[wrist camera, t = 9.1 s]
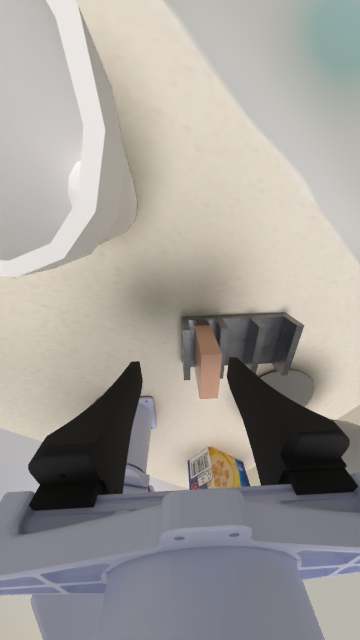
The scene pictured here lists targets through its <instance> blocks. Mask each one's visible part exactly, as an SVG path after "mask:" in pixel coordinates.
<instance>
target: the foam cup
mask: <svg viewBox="0 0 360 640" xmlns="http://www.w3.org/2000/svg"><path fill="white" fill-rule="evenodd" d="M137 205H138V204H137V198H136V193H135V188H134V183H133V180H132V176H131V173H130V169H129V166H128V162H127V159H126V155H125V152H124V148H123V144H122V139H121V133H120V128H119V123H118V118H117V113H116V107H115V102H114V97H113V92H112V87H111V84H110V82H109V79H108V77H107V74H106V72H105V69H104V67H103V64H102V62H101V60H100V57H99V55H98V52H97V50H96V47H95V45H94V42H93V40H92V38H91V35H90V33H89V30H88V28H87V25H86V23H85V21H84V18H83V16H82V13H81V11H80V8H79V6H78V4H77V2H76V0H0V276H10V277H20V276H24V275H28V274H32V273H36V272H40V271H45V270H49V269H53V268H56V267H59V266H61V265H64V264H66V263H69V262H71V261H74V260H76V259H79V258H81V257H84V256H86V255H89V254H91V253H92V252H93V251H94V249H95V248H96V247H97V245H99V244H101V243H103V242H106V241H108V240H110V239H112V238H114V237H116V236H118V235H120V234H122V233H124V232H126V231H127V229H128V228H129V227H130V225H131V224H132V223H133V222H134V220H135V215H136V210H137Z"/></svg>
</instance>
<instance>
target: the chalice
mask: <svg viewBox="0 0 360 640" xmlns="http://www.w3.org/2000/svg"><path fill="white" fill-rule="evenodd" d="M260 378H261V379H262V380H263V381H264V382H266V383H267V384H268V385H270V386H271V387H272V388H274V389H275V390H277V391H278V392H280V393H281V394H283V395H284V396H286V397H288V398H289V399H291V400H293V401H294V402H296V403H298V404H300V405H301V406H303V407H304V406H305V405H306V404H307V403H308V402H309V400H310V399H311V397H312V394H313V390H314V385H313V381H312V380H311V379H310V377H309V376H307V375H306V374H305V373H302V372H300V371H295V370H289V372H288V375H286V376H281V374H280V373H279V372H278V371H275V372H271V373H269V374H266V375H264V376H262V377H260ZM330 420H332V419H330ZM332 421H334V422H335V423H336V424H337V425H338V426H339V427H340V428H341V430H342V431H343V432H344V433H345V434H346V435H347V436H348V438H349V439H350V445H349V447H348V449H347V450H346V452H345V453H344V454H343V456H342V457H341V458H342V459H343V461H344V462H345V463H346V465H347V467H346V468H345V469H346V470H347V472H348V473H349V474H350V475H351V474H353V473H357V472H360V426H358V425H355V424H353V423H350V422H346V421H339V420H332Z"/></svg>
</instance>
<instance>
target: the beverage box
mask: <svg viewBox="0 0 360 640" xmlns="http://www.w3.org/2000/svg"><path fill="white" fill-rule="evenodd" d="M188 470H189V486H190V490H196V489H213V488H231V487H248V486H250V484H249V480H248V477H247V474H246V471H245V467H244V464H243V462H241V461H239V460H237V459H235V458H232V457H230V456H228V455H226V454H224V453H222V452H220V451H218V450H216V449H214V448H211V447H208V448H206V449H205V450H203V451H202V452H200V453H199V454H197V455H196V456H194V457H193V458H191V459H190V460H188Z"/></svg>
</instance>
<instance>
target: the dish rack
mask: <svg viewBox="0 0 360 640" xmlns="http://www.w3.org/2000/svg"><path fill="white" fill-rule="evenodd" d="M198 325H210V326H211V329H212V331H213V333H214V336H215V338H216V340H217V343H218V345H219V348H220V350H221V352H222V362H221V371H220V379H221V378H223V373H224V365H228V364H229V357H237V358H238V359H239V360H241V361H242V362H243V363H244V364H245V365H246V366H247V367H248V368H249V369H250V370H251V371H252V372H254V373H255V374H256V371H257V367H258V364H263V363H272V364H273V366H274V367H275V368H276V369H277V371H278V372H279V373H280V374H281V376H286V375H288V372H289V369H290V366H291V363H292V360H293V357H294V354H295V351H296V348H297V345H298V342H299V339H300V336H301V333H302V330H303V327H304V325H303V324H301V323H300V322H298V321H297V320H295V319H294V318H292V317H291V316H289V315H288V314H286V313H271V314H246V315H221V316H196V317H182V350H183V372H184V380H190V367H195V366H194V326H198Z"/></svg>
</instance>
